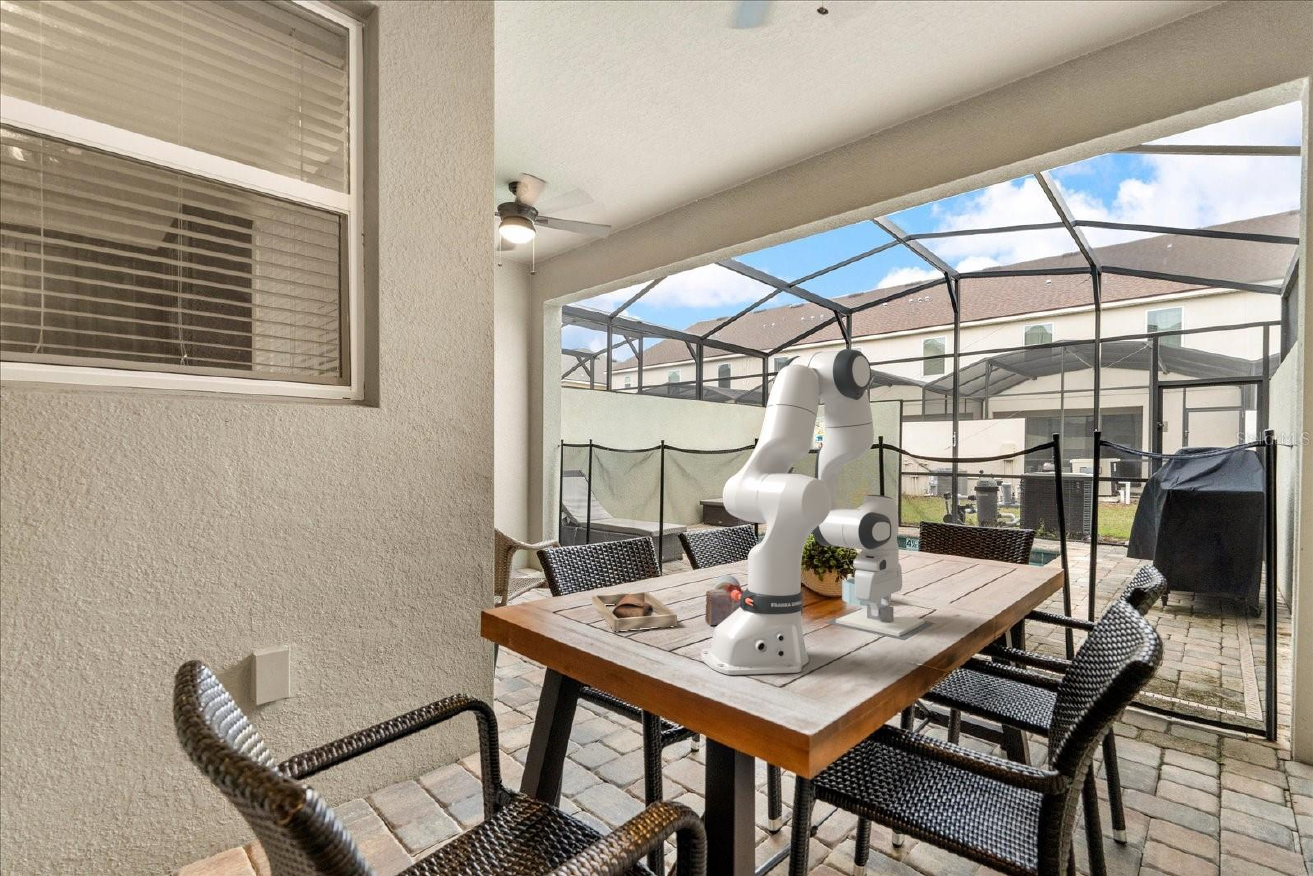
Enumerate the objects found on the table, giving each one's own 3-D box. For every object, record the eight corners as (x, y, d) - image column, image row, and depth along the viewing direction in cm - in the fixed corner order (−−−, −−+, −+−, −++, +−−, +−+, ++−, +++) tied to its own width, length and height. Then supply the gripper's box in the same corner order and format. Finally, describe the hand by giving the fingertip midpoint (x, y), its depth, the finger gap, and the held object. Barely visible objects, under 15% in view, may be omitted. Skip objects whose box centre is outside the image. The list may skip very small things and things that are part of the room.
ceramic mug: (712, 607, 168) (713, 579, 169) (714, 600, 176) (714, 573, 177) (750, 609, 167) (751, 581, 167) (750, 602, 175) (751, 575, 175)
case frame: (614, 632, 143) (614, 619, 143) (592, 606, 168) (592, 595, 168) (677, 627, 148) (677, 615, 148) (646, 602, 173) (646, 591, 173)
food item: (755, 618, 157) (755, 581, 157) (763, 627, 149) (763, 587, 149) (703, 619, 155) (704, 581, 156) (709, 628, 148) (709, 588, 148)
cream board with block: (899, 636, 140) (898, 618, 140) (835, 622, 151) (835, 605, 151) (924, 623, 151) (924, 605, 152) (864, 611, 163) (863, 595, 163)
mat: (904, 642, 137) (904, 640, 137) (824, 625, 151) (824, 622, 151) (935, 625, 151) (935, 623, 151) (860, 610, 165) (860, 608, 165)
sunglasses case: (644, 623, 149) (630, 599, 149) (619, 636, 149) (606, 613, 150) (653, 605, 167) (641, 584, 167) (631, 617, 167) (619, 596, 168)
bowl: (859, 609, 167) (859, 587, 167) (834, 599, 178) (834, 579, 179) (895, 606, 171) (895, 585, 171) (868, 596, 182) (868, 576, 182)
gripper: (884, 552, 161) (885, 604, 161) (849, 562, 147) (849, 618, 146) (908, 555, 157) (908, 608, 157) (874, 565, 142) (875, 624, 142)
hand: (880, 613), depth 151 cm, fingers open, 3 cm apart
